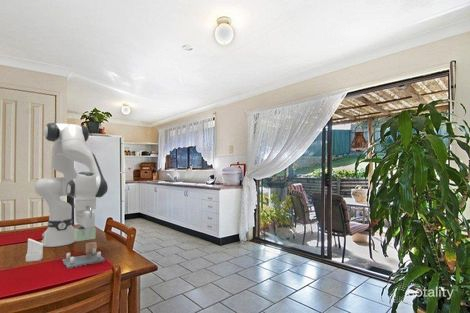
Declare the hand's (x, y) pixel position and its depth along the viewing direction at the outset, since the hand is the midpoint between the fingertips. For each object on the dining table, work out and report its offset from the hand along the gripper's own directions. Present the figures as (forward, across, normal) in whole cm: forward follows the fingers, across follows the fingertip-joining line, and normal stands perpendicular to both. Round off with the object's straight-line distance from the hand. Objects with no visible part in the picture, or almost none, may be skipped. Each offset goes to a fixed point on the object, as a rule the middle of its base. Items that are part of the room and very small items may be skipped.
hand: (84, 234), depth 125 cm
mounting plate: (+12, 0, 0) cm, 12 cm away
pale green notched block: (+2, 0, 0) cm, 2 cm away
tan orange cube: (+12, +12, -6) cm, 18 cm away
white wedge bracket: (+12, +19, +17) cm, 28 cm away
